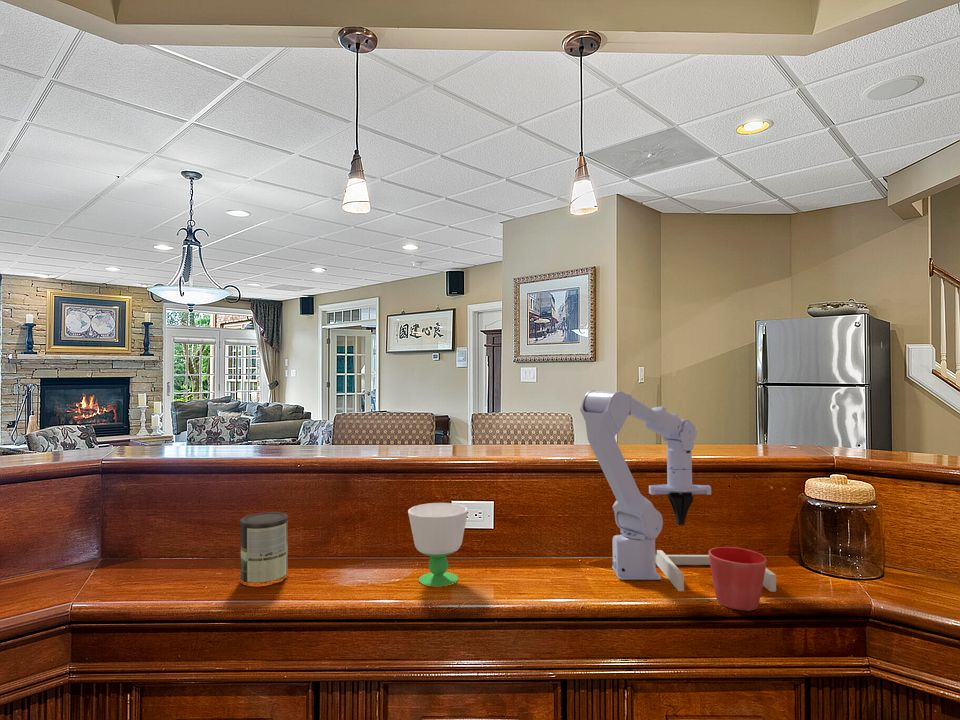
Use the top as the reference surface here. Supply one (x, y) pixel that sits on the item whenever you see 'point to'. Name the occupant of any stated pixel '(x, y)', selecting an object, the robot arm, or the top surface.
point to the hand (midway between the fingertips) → (680, 523)
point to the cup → (438, 537)
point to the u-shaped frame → (677, 577)
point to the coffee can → (264, 547)
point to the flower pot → (737, 576)
